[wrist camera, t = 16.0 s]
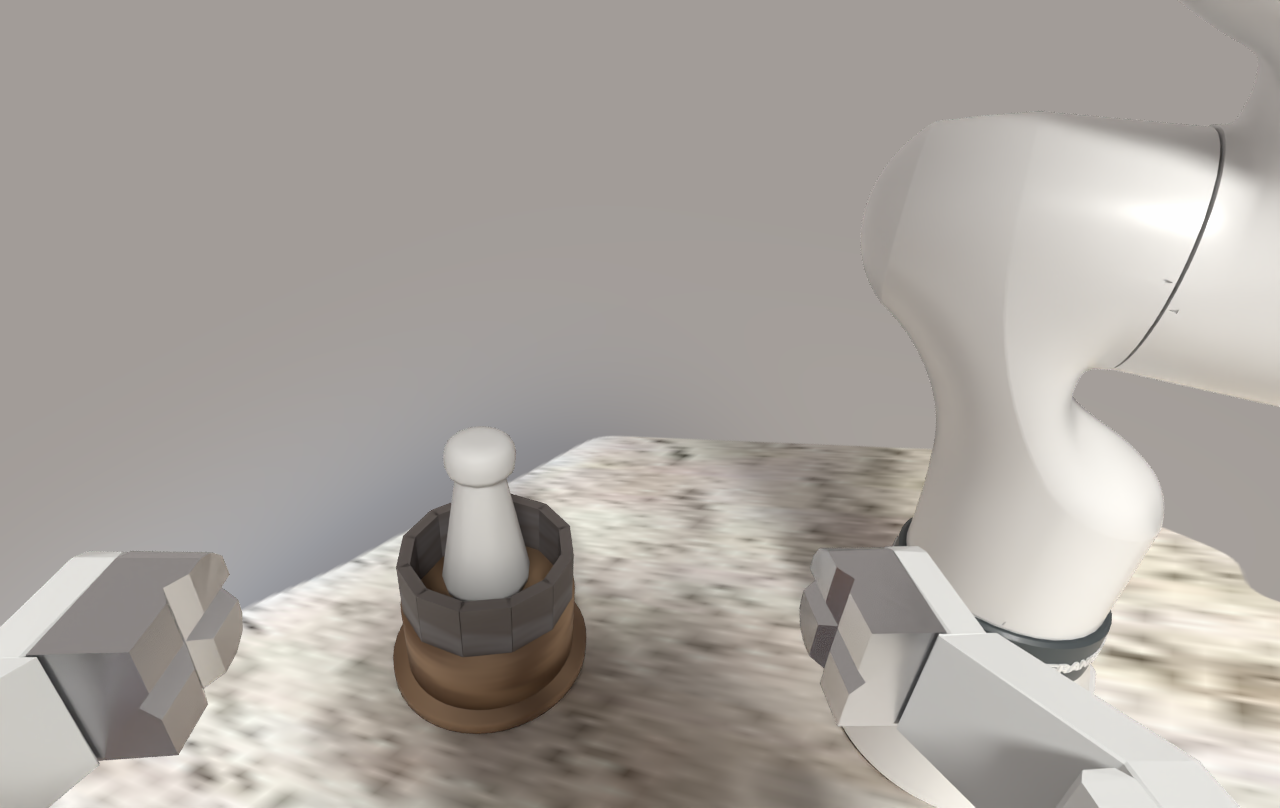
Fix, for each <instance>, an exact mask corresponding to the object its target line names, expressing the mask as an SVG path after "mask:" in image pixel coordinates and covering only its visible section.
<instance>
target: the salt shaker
mask: <svg viewBox="0 0 1280 808" xmlns="http://www.w3.org/2000/svg"><path fill="white" fill-rule="evenodd" d="M515 459H516V449H515V445H514V442H513V441H512V439H511V438H510V436H509V435H508V434H506V433H505V432H502V431H500V430H498V429H496V428H492V427H485V426H480V427H470V428H467V429H464V430H461V431H459V432H458V433H456V434H455V435H454V436H452V437H451V438H450V439H449V440H448V441H447V444H446V446H445V448H444V454H443V461H444V468H445V469H446V471H447V473H448V475H449V477H450V479H451V480H453V481H454V489H453V496H452V503H451V511H450V518H449V526H448V534H447V542H446V550H445V557H444V565H443V573H442V577H443V580H444V583H445V585H446V587H447V590H448V592H449V594H450V595H451V596H452V597H453V598H455V599H457V600H460V601H463V602H466V601H478V600H490V599H502V598H509V597H511V596H513V595H515V594H517V593H518V592H520V591H522V589H523V588H524V586H525V584H526V583H527V580H528V576H529V564H530V561H529V558H528V554H527V551H526V547H525V544H524V540H523V536H522V533H521V529H520V526H519V522H518V519H517V515H516V511H515V508H514V504H513V501H512V497H511V494H510V490H509V486H508V483H507V479H506V478H507V477H508V476H509V475H510V474H511V473H512V472H513V470H514V466H515Z"/></svg>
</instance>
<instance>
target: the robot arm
mask: <svg viewBox="0 0 1280 808" xmlns="http://www.w3.org/2000/svg"><path fill="white" fill-rule="evenodd" d="M1178 1H1179V2H1180V3H1182V4H1183V5H1184V6H1185V7H1187V8H1188V9H1189V10H1191V11H1192V12H1193V13H1194V14H1196V15H1197V16H1198V17H1200V18H1201V19H1203V20H1204V21H1206V22H1207V23H1209V24H1210V25H1212V26H1213V27H1214V28H1216V29H1217V30H1219V31H1221V32H1222V33H1224V34H1226V35H1227V36H1229V37H1231V38H1232V39H1234V40H1236V41H1237V42H1239V43H1241V44H1242V45H1244V46H1245V47H1247V48H1248V49H1249V50H1251V51H1252V52H1253V53H1254V54H1255V55H1256V56H1257V58H1258V68H1257V74H1256V79H1255V83H1254V86H1253V89H1252V91H1251V94H1250V96H1249V98H1248V100H1247V102H1246V104H1245V106H1244V107H1243V109H1242V111H1241V113H1240V114H1239V116H1238V117H1237V119H1236V120H1235V121H1234V122H1232V123H1229V124H1215V125H1210V126H1199V125H1188V124H1177V123H1166V122H1154V121H1143V120H1132V119H1120V118H1110V117H1099V116H1087V115H1077V114H1065V113H1055V112H1044V111H1035V112H1022V113H1010V114H997V115H985V116H977V117H969V118H959V119H952V120H943V121H936V122H933V123H932V124H930V125H929V126H927V127H926V128H924V129H923V130H921V131H920V132H919V133H918V134H916V135H915V136H914V137H913V138H911V139H910V140H909V141H908V142H907V143H906V144H905V145H904V146H903V147H902V148H901V149H900V150H899V151H898V152H897V153H896V154H895V155H894V156H893V158H892V159H891V160H890V161H889V163H888V164H887V165H886V167H885V168H884V170H883V171H882V173H881V174H880V176H879V178H878V179H877V181H876V183H875V185H874V187H873V189H872V191H871V194H870V196H869V199H868V202H867V204H866V207H865V211H864V215H863V220H862V226H861V255H862V261H863V265H864V270H865V273H866V276H867V278H868V281H869V283H870V285H871V287H872V289H873V291H874V293H875V295H876V296H877V298H878V299H879V301H880V302H881V304H882V305H883V306H884V307H885V308H886V309H887V310H888V311H889V312H890V313H891V314H892V315H893V316H894V318H895V319H896V320H897V321H898V322H899V323H900V325H901V326H902V328H903V329H904V330H905V332H906V333H907V334H908V336H909V338H910V339H911V341H912V342H913V344H914V346H915V347H916V349H917V351H918V353H919V355H920V357H921V359H922V361H923V363H924V365H925V369H926V371H927V374H928V377H929V380H930V383H931V387H932V391H933V396H934V401H935V408H936V409H935V410H936V431H935V439H934V445H933V450H932V454H931V459H930V463H929V467H928V471H927V474H926V478H925V482H924V485H923V488H922V492H921V495H920V498H919V501H918V504H917V507H916V510H915V513H914V516H913V517H912V518H911V519H909V520H908V521H907V522H906V523H905V524H904V526H903V527H902V529H901V531H900V534H899V536H897V538H896V539H895V541H894V543H893V546H892V547H884V548H882V547H859V548H819V549H818V551H817V552H816V553H815V554H814V556H813V560H812V563H811V566H810V570H811V572H812V574H813V576H814V578H815V581H814V582H813V583H812V584H811V585H809V586H808V587H807V588H806V589H805V590H804V591H803V595H802V599H801V604H800V628H801V633H802V637H803V641H804V644H805V647H806V649H807V652H808V654H809V656H810V657H811V658H812V659H814V660H815V661H816V662H817V663H818V664H820V665H821V666H822V667H823V668H824V671H823V675H822V678H821V681H820V685H821V687H822V690H823V692H824V694H825V697H826V699H827V702H828V704H829V707H830V709H831V712H832V714H833V717H834V719H835V721H836V724H837V726H843V728H844V730H845V732H846V733H847V735H848V736H849V738H850V739H851V741H852V742H853V743H854V745H855V746H856V747H857V749H858V750H859V751H860V752H861V753H862V755H863V756H864V757H865V758H866V759H867V760H868V761H869V762H870V763H871V764H872V765H873V766H874V767H875V768H876V769H877V770H878V771H879V772H880V773H882V774H883V775H884V776H885V777H886V778H888V779H889V780H890V781H892V782H893V783H894V784H896V785H897V786H898V787H900V788H901V789H903V790H904V791H906V792H908V793H909V794H911V795H913V796H914V797H916V798H918V799H920V800H922V801H924V802H926V803H928V804H930V805H933V806H935V807H937V808H1241V807H1240V806H1239V805H1238V804H1237V802H1236V801H1235V800H1234V799H1233V798H1232V797H1231V796H1230V795H1229V794H1228V792H1227V791H1226V790H1225V789H1224V788H1223V787H1222V786H1221V785H1220V784H1219V782H1218V781H1217V780H1216V779H1215V778H1214V777H1213V776H1212V775H1211V774H1210V772H1209V771H1208V770H1207V769H1206V768H1205V767H1204V766H1203V765H1202V764H1201V762H1200V761H1199V760H1197V759H1195V758H1194V757H1192V756H1191V755H1189V754H1187V753H1186V752H1184V751H1183V750H1181V749H1180V748H1178V747H1176V746H1175V745H1173V744H1172V743H1170V742H1168V741H1167V740H1165V739H1164V738H1162V737H1161V736H1159V735H1157V734H1156V733H1154V732H1153V731H1151V730H1149V729H1148V728H1146V727H1145V726H1143V725H1142V724H1140V723H1138V722H1137V721H1135V720H1134V719H1132V718H1130V717H1129V716H1127V715H1126V714H1124V713H1123V712H1121V711H1119V710H1118V709H1116V708H1115V707H1113V706H1111V705H1110V704H1108V703H1107V702H1105V701H1104V700H1102V699H1100V698H1099V697H1097V696H1096V695H1094V693H1095V685H1096V671H1095V669H1094V668H1093V667H1092V665H1091V664H1090V663H1092V662H1093V661H1094V660H1095V658H1096V657H1097V656H1098V654H1099V652H1100V651H1101V649H1102V647H1103V645H1104V643H1105V640H1106V637H1107V636H1106V635H1107V633H1108V632H1109V629H1110V626H1111V621H1112V613H1111V609H1112V607H1113V606H1114V604H1115V602H1116V601H1117V599H1118V598H1119V596H1120V594H1121V593H1122V591H1123V590H1124V588H1125V587H1126V585H1127V583H1128V582H1129V580H1130V579H1131V577H1132V575H1133V574H1134V572H1135V571H1136V569H1137V567H1138V566H1139V564H1140V563H1141V561H1142V559H1143V558H1144V556H1145V555H1146V553H1147V551H1148V550H1149V548H1150V547H1151V545H1152V543H1153V542H1154V540H1155V539H1156V537H1157V535H1158V534H1159V532H1160V530H1161V528H1162V523H1163V517H1164V498H1163V492H1162V489H1161V486H1160V483H1159V481H1158V478H1157V477H1156V475H1155V473H1154V471H1153V470H1152V468H1151V467H1150V466H1149V464H1148V463H1147V462H1146V460H1145V459H1144V458H1143V457H1142V456H1141V455H1140V454H1139V453H1138V452H1137V451H1136V450H1135V449H1134V448H1133V447H1132V446H1131V445H1130V444H1129V443H1128V442H1127V441H1126V440H1125V439H1124V438H1122V437H1121V436H1120V435H1119V434H1118V433H1116V432H1115V431H1114V430H1112V429H1111V428H1110V427H1108V426H1107V425H1106V424H1104V423H1103V422H1102V421H1100V420H1099V419H1097V418H1096V417H1095V416H1093V415H1092V414H1091V413H1089V412H1088V411H1087V410H1086V409H1085V408H1083V407H1082V406H1081V405H1080V404H1079V403H1078V402H1077V401H1076V399H1075V398H1074V397H1073V392H1074V389H1075V387H1076V384H1077V383H1078V381H1079V379H1080V377H1081V376H1082V374H1083V373H1084V372H1086V371H1088V370H1091V369H1100V370H1110V369H1111V370H1115V371H1120V372H1124V373H1129V374H1133V375H1138V376H1143V377H1147V378H1151V379H1156V380H1160V381H1165V382H1169V383H1174V384H1178V385H1182V386H1187V387H1192V388H1196V389H1200V390H1205V391H1209V392H1214V393H1218V394H1223V395H1227V396H1232V397H1236V398H1240V399H1245V400H1249V401H1254V402H1258V403H1263V404H1267V405H1271V406H1275V407H1280V0H1178ZM229 575H230V574H229V571H228V569H227V566H226V564H225V561H224V559H223V556H221V555H218V554H215V553H210V552H153V551H152V552H151V551H130V552H101V551H87V552H85V553H82V554H80V555H77V556H75V557H72V558H71V559H70V560H69V561H68V562H67V563H66V564H65V565H64V566H63V567H62V568H61V569H60V570H59V571H58V572H57V573H56V574H55V575H54V576H53V577H52V578H51V579H50V580H49V581H47V582H46V583H45V584H44V585H43V586H42V587H41V588H40V589H39V590H38V591H37V592H36V593H35V594H34V595H33V596H32V597H31V598H30V599H29V600H28V601H27V602H26V603H25V604H24V605H23V606H22V607H21V608H20V609H19V610H18V611H17V612H16V613H15V614H14V615H12V616H11V617H10V618H9V619H8V620H7V621H6V623H4V624H3V625H2V626H1V627H0V808H49V807H50V806H51V805H52V804H53V803H55V802H56V801H57V800H58V799H59V798H61V797H62V796H63V795H64V794H65V793H67V792H68V791H69V790H70V789H71V788H72V787H74V786H75V785H76V784H77V783H78V782H80V781H81V780H82V779H83V778H84V777H86V776H87V775H88V774H89V773H90V772H92V771H93V770H94V769H95V768H96V767H98V766H99V764H100V763H99V762H98V761H102V760H116V759H130V758H144V757H158V756H172V755H179V753H180V751H181V750H182V748H183V746H184V744H185V743H186V741H187V739H188V738H189V736H190V734H191V732H192V731H193V729H194V727H195V726H196V724H197V722H198V720H199V719H200V717H201V715H202V713H203V712H204V710H205V708H206V707H207V705H208V702H207V698H206V695H205V691H204V688H205V687H207V686H208V685H210V684H211V683H212V682H214V681H215V680H216V679H218V678H219V677H221V676H222V675H223V674H225V673H226V672H227V670H228V668H229V666H230V664H231V662H232V661H233V659H234V657H235V655H236V653H237V650H238V646H239V642H240V639H241V635H242V631H243V622H242V611H241V608H240V604H239V601H238V599H237V598H236V597H234V596H233V595H231V594H230V593H229V592H227V591H226V590H225V589H223V588H222V585H223V584H224V582H225V581H226V579H227V578H228V576H229Z"/></svg>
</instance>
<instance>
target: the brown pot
mask: <svg viewBox="0 0 1280 808" xmlns="http://www.w3.org/2000/svg"><path fill="white" fill-rule="evenodd" d="M511 497H512V501H513V504H514V508H515V511H516V515H517V519H518V522H519V526H520V529H521V533H522V536H523V540H524V544H525V547H526V551H527V554H528V558H529V561H530V564H529V576H528V580H527V583H526V584H525V586H524V588H523V589H522V591H520V592H518V593H517V594H515V595H513V596H511V597H509V598H502V599H490V600H478V601H466V602H463V601H460V600H457V599H455V598H453V597H452V596H451V595H450V594H449V592H448V590H447V587H446V585H445V583H444V580H443V577H442V573H443V565H444V557H445V550H446V542H447V534H448V526H449V518H450V511H451V503H449V504H446V505H444V506H441V507H438V508H436V509H433V510H431V511H430V512H428V513H427V514H426V515H425V516H424V517H423V518H422V519H421V520H420V521H419V522H418V523H417V524H416V525H414V526H413V527H412V528H411V529H410V530H409V531H408V532H407V533H406V534H405V535H404V536H403V539H402V544H401V548H400V553H399V557H398V562H397V566H396V569H397V576H398V583H399V589H400V596H401V614H402V621H403V625H402V627H401V629H400V631H399V633H398V636H397V639H396V643H395V646H394V655H393V660H394V670H395V676H396V680H397V684H398V688H399V690H400V692H401V694H402V697H403V698H404V699H405V701H406V702H407V704H408V705H409V706H410V707H411V708H412V709H413V710H414V711H415V712H416V713H417V714H418V715H419V716H421V717H422V718H423V719H425V720H426V721H428V722H430V723H432V724H434V725H436V726H438V727H441V728H444V729H447V730H450V731H456V732H461V733H474V734H480V733H493V732H498V731H503V730H507V729H511V728H514V727H517V726H520V725H522V724H524V723H527V722H529V721H531V720H533V719H535V718H537V717H538V716H540V715H542V714H543V713H545V712H546V711H548V710H549V709H550V708H551V707H553V706H554V705H555V704H556V703H557V702H558V701H559V700H560V699H561V698H563V697H564V695H565V694H566V693H567V692H568V690H569V689H570V688H571V687H572V685H573V683H574V682H575V680H576V678H577V677H578V674H579V672H580V670H581V667H582V664H583V660H584V656H585V647H586V628H585V624H584V619H583V616H582V614H581V611H580V609H579V608H578V606H577V604H576V603H575V601H574V593H575V586H574V578H573V557H574V554H573V547H572V539H571V532H570V526H569V525H568V524H567V523H566V522H565V521H564V520H563V519H562V518H561V517H560V516H559V515H558V514H556V513H555V512H554V511H553V510H552V509H551V508H550V507H549V506H548V505H547V504H544V503H541V502H537V501H534V500H530V499H527V498H524V497H520V496H517V495H513V494H511Z"/></svg>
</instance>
